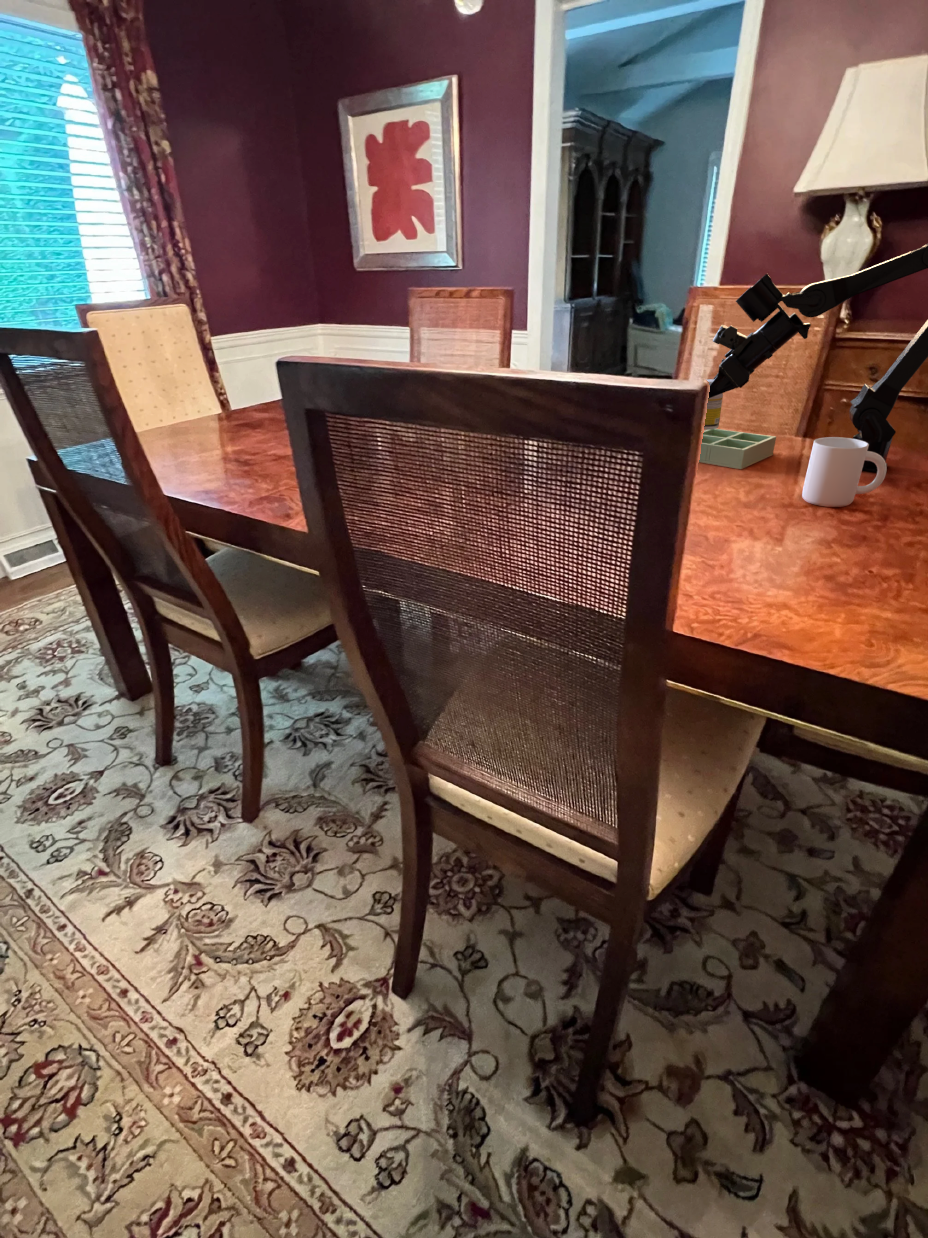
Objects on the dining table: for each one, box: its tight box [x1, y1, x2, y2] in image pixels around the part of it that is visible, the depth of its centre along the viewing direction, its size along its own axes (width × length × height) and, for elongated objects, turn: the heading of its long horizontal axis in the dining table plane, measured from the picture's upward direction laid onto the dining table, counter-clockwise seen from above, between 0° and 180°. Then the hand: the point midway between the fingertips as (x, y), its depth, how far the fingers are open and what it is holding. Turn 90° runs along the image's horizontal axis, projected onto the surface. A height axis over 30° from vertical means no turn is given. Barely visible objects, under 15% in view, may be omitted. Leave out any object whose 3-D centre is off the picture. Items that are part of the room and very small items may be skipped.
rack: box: [698, 428, 777, 470], centre depth 139 cm, size 15×15×4 cm
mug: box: [801, 436, 888, 508], centre depth 108 cm, size 12×8×10 cm
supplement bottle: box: [703, 378, 724, 431], centre depth 134 cm, size 5×5×10 cm
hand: (702, 396), depth 134 cm, fingers closed on supplement bottle, 5 cm apart
